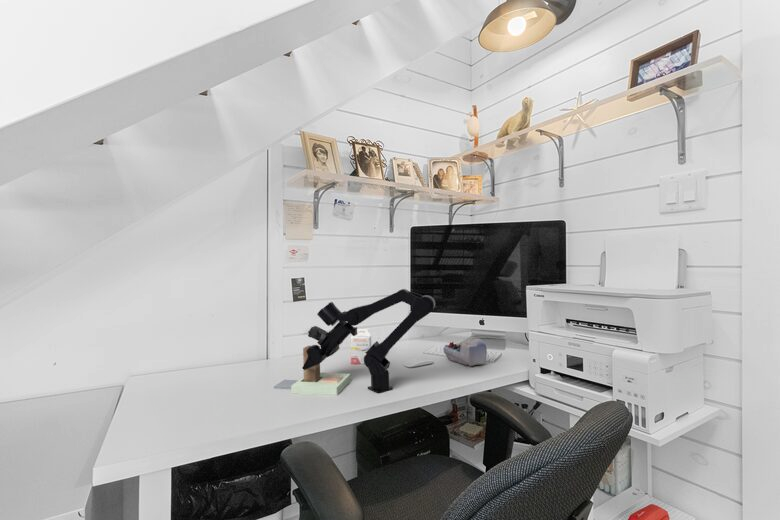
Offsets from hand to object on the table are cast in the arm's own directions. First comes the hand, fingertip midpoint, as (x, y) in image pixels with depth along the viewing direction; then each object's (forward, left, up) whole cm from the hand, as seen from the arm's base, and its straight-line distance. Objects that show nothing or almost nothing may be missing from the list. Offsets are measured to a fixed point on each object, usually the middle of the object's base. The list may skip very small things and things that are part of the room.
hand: (308, 365), depth 135 cm
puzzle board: (-4, -3, -7) cm, 9 cm away
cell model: (-15, -67, -8) cm, 69 cm away
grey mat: (+6, +5, -7) cm, 11 cm away
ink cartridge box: (+15, -32, -8) cm, 36 cm away
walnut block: (-1, -1, -7) cm, 7 cm away
